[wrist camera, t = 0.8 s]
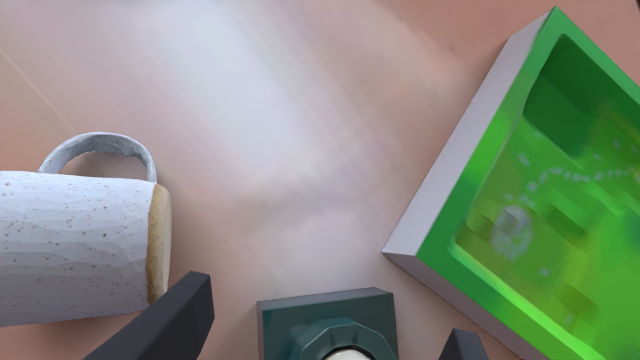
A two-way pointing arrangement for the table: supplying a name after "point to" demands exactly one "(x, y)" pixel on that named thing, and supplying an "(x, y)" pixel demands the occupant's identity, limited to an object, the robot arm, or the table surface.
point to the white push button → (347, 355)
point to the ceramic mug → (82, 238)
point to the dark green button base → (328, 325)
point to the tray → (538, 202)
